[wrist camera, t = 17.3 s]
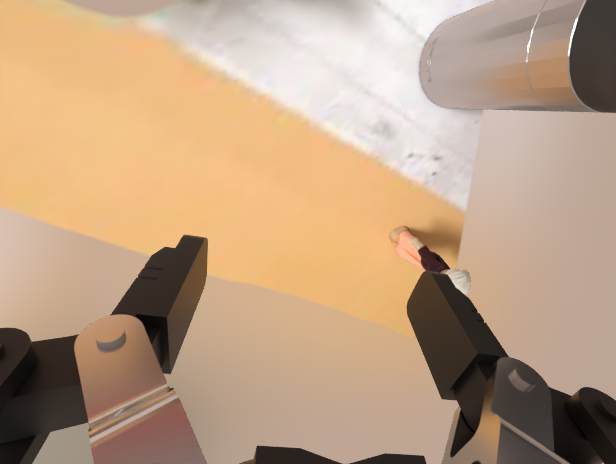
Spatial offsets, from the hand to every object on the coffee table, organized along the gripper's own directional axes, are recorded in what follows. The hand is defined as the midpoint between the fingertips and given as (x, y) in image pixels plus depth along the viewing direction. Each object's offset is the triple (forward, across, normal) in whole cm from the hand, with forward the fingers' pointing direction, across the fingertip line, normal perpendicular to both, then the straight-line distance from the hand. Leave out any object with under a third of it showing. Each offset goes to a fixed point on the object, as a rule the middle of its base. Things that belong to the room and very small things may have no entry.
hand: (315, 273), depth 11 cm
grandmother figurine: (+26, -17, +13) cm, 34 cm away
